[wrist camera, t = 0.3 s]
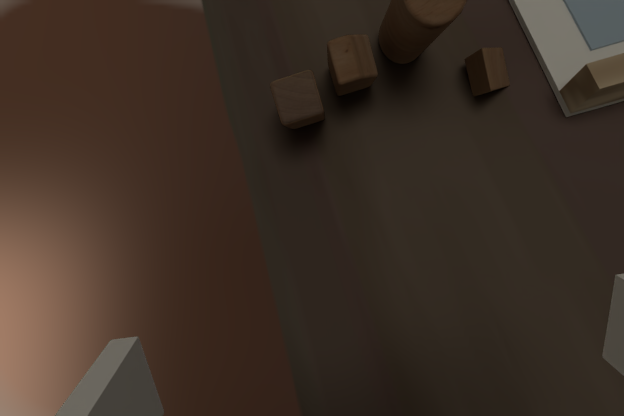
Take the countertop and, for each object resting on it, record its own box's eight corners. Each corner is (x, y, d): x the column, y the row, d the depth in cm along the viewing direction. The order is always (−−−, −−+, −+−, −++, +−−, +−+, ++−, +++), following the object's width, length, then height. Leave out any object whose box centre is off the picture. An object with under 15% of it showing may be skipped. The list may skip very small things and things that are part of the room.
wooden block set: (299, 150, 33) (284, 152, 23) (269, 53, 31) (241, 10, 21) (499, 89, 31) (581, 62, 21) (477, -16, 30) (552, -99, 20)
